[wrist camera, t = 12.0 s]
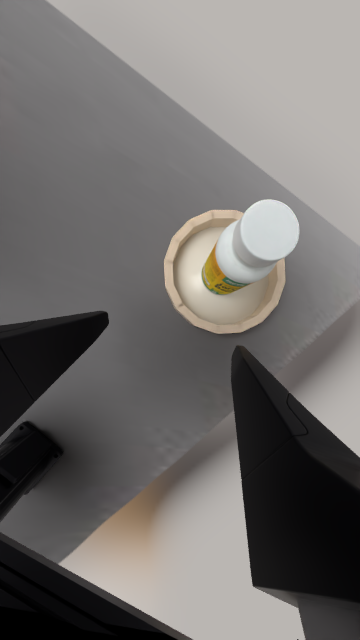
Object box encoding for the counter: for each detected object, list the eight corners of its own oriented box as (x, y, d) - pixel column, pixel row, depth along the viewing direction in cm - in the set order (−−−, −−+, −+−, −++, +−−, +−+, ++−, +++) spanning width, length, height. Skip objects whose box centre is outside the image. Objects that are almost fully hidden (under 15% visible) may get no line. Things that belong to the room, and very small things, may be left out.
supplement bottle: (236, 254, 19) (306, 184, 9) (241, 293, 19) (316, 266, 9) (197, 258, 18) (226, 190, 9) (202, 298, 18) (236, 275, 9)
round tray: (223, 353, 19) (230, 358, 17) (142, 280, 19) (137, 274, 16) (291, 275, 20) (308, 269, 18) (215, 201, 19) (222, 184, 17)
